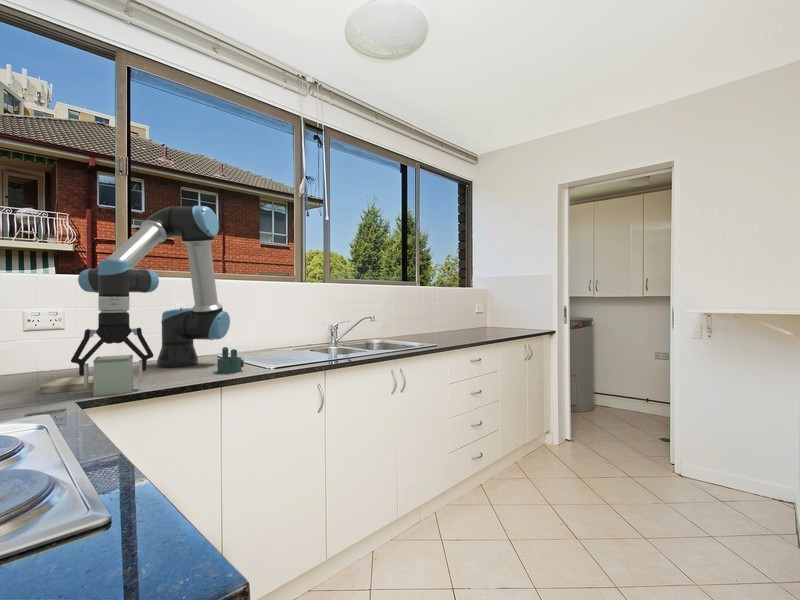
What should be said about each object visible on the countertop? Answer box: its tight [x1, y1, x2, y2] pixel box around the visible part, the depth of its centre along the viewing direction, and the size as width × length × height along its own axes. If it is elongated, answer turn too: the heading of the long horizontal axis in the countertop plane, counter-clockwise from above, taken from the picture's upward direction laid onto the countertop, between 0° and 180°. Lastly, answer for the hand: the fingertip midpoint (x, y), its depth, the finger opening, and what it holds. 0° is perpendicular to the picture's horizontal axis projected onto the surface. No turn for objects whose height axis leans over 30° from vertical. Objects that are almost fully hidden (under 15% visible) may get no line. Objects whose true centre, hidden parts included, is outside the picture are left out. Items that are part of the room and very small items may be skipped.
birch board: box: [39, 375, 94, 395], centre depth 128 cm, size 14×14×2 cm
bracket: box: [217, 346, 245, 375], centre depth 156 cm, size 9×9×9 cm
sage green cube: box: [93, 354, 134, 397], centre depth 122 cm, size 9×9×10 cm
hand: (114, 384), depth 122 cm, fingers open, 12 cm apart
